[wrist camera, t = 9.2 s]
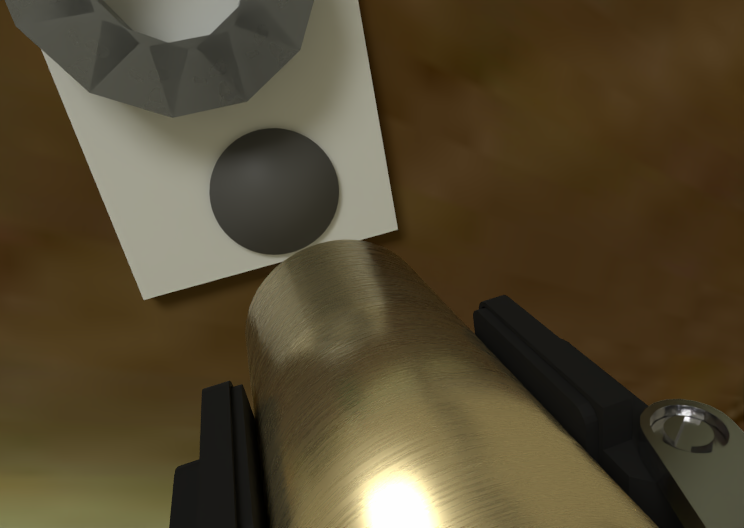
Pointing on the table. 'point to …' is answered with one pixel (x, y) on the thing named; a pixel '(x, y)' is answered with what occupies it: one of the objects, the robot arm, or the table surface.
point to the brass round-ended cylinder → (402, 410)
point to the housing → (166, 52)
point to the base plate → (239, 154)
